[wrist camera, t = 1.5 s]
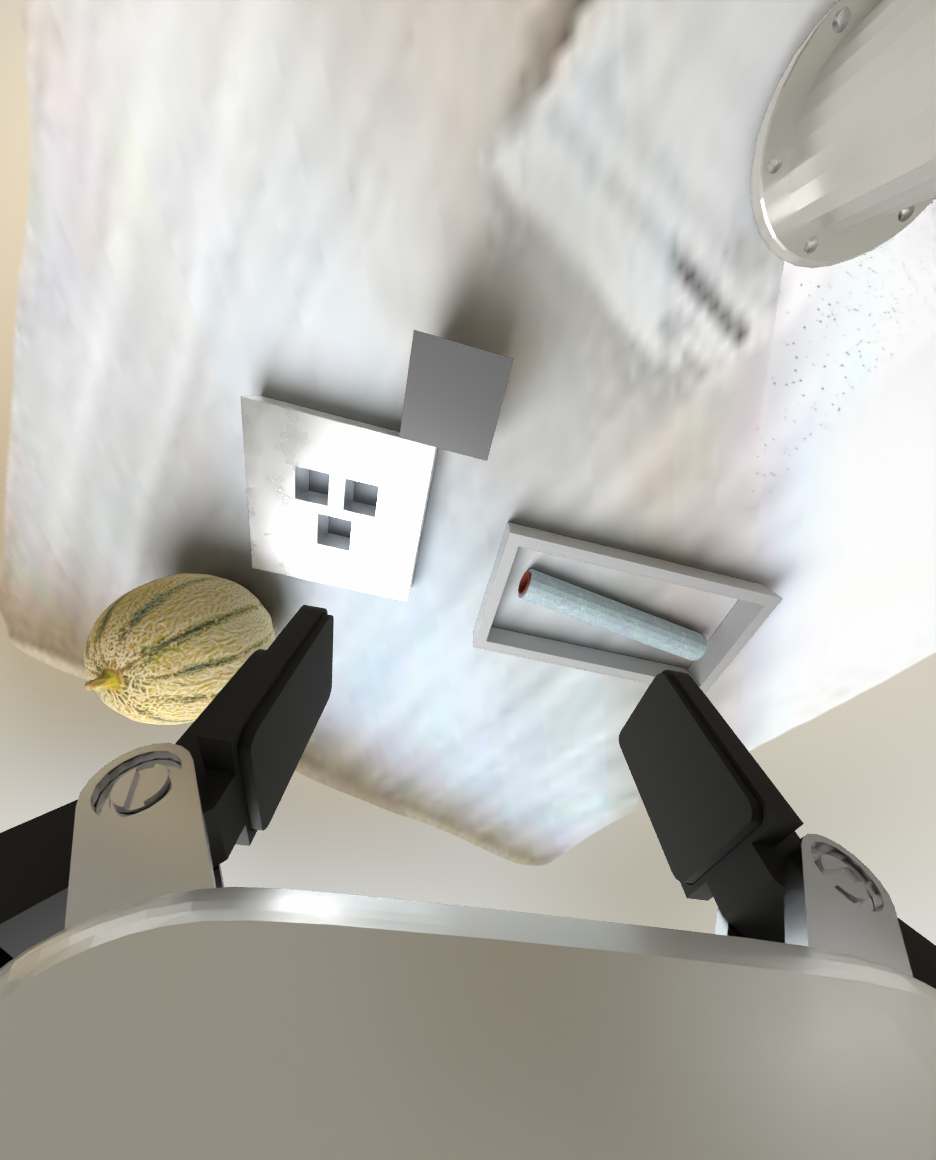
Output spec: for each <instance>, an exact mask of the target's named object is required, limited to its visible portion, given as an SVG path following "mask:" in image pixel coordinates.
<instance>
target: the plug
mask: <svg viewBox="0 0 936 1160" xmlns="http://www.w3.org/2000/svg"><path fill="white" fill-rule="evenodd" d="M512 363H513V358H509V357H506V356H502V355H499V354H495V353H492V352H489V351H485V350H482V349H478V348H475V347H471V346H468V345H464V344H461V343H458V342H454V341H451V340H447V339H444V338H440V337H437V336H434V335H430V334H427V333H423V332H420V331H416V330H414V334H413V341H412V349H411V356H410V363H409V370H408V378H407V385H406V392H405V400H404V407H403V414H402V422H401V429H400V436H399V438H401V439H405V440H409V441H413V442H417V443H421V444H424V445H428V446H432V447H436V448H440V449H444V450H448V451H451V452H455V453H459V454H463V455H467V456H471V457H474V458H478V459H482V460H486V461H487V459H488V455H489V451H490V447H491V443H492V439H493V436H494V432H495V428H496V424H497V420H498V416H499V413H500V409H501V405H502V401H503V397H504V393H505V390H506V386H507V382H508V378H509V374H510V370H511V367H512Z"/></svg>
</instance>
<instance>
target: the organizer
mask: <svg viewBox="0 0 936 1160" xmlns="http://www.w3.org/2000/svg"><path fill="white" fill-rule="evenodd" d="M518 547H522V548H526V549H530V550H534V551H538V552H543V553H547V554H551V555H555V556H559V557H564V558H568V559H572V560H576V561H580V562H584V563H589V564H593V565H597V566H601V567H605V568H610V569H614V570H618V571H622V572H626V573H631V574H635V575H639V576H643V577H647V578H651V579H656V580H660V581H664V582H668V583H672V584H677V585H681V586H685V587H689V588H693V589H697V590H702V591H706V592H710V593H714V594H718V595H723V596H727V597H731V598H735V599H739V600H738V602H737V603H736V604H735V606H734V607H733V608H732V610H731V611H730V612H729V614H728V615H727V616H726V618H725V619H724V620H723V622H722V623H721V624H720V626H719V627H718V628H717V630H716V631H715V633H714V634H713V635H712V637H711V638H710V639H709V641H708V642H707V648H706V652H705V653H704V655H703V656H702V657H701V658H699V659H698V660H694V661H693V662H692V663H691V665H690V666H689V668H688V669H686V668H682V667H677V666H672V665H668V664H663V663H658V662H654V661H649V660H644V659H640V658H635V657H630V656H626V655H621V654H616V653H612V652H607V651H602V650H598V649H593V648H588V647H584V646H579V645H574V644H570V643H565V642H561V641H556V640H551V639H547V638H542V637H537V636H533V635H528V634H523V633H519V632H514V631H509V630H505V629H500V628H495V627H491V625H492V622H493V619H494V617H495V614H496V611H497V608H498V605H499V602H500V599H501V596H502V593H503V590H504V587H505V584H506V582H507V579H508V576H509V573H510V570H511V567H512V564H513V561H514V558H515V555H516V552H517V549H518ZM782 599H783V598H781V597H780V596H778V595H777V594H775V593H774V592H772V591H771V590H770V589H768V588H767V587H765V586H764V585H762V584H759V583H755V582H751V581H747V580H743V579H739V578H735V577H730V576H726V575H722V574H718V573H714V572H710V571H706V570H702V569H698V568H694V567H690V566H686V565H682V564H677V563H673V562H669V561H665V560H661V559H657V558H653V557H649V556H645V555H641V554H637V553H633V552H628V551H624V550H620V549H616V548H612V547H608V546H604V545H600V544H596V543H592V542H588V541H584V540H580V539H575V538H571V537H567V536H563V535H559V534H555V533H551V532H547V531H543V530H539V529H535V528H531V527H526V526H522V525H518V524H514V523H510V522H508V523H507V526H506V529H505V533H504V536H503V539H502V542H501V545H500V548H499V552H498V555H497V558H496V561H495V564H494V568H493V571H492V574H491V577H490V580H489V583H488V587H487V590H486V593H485V596H484V599H483V602H482V606H481V609H480V612H479V615H478V618H477V622H476V625H475V628H474V631H473V647H475V648H480V649H485V650H490V651H495V652H499V653H504V654H509V655H514V656H519V657H523V658H528V659H533V660H538V661H543V662H547V663H552V664H557V665H562V666H567V667H571V668H576V669H581V670H586V671H591V672H595V673H600V674H605V675H610V676H615V677H619V678H624V679H629V680H634V681H639V682H643V683H648V684H651V683H652V681H653V679H654V678H655V676H656V675H657V674H661V672H662V671H664V670H673V671H679V672H684V673H687V674H689V675H690V676H691V677H692V678H693V679H694V681H695V682H696V683H697V685H698V686H699V687H700V689H701V690H702V691H703V693H704V694H706V692H707V691H708V690H709V689H710V687H711V686H712V685H713V684H714V682H715V681H716V680H717V679H718V678H719V676H720V675H721V674H722V673H723V671H724V670H725V669H726V668H727V666H728V665H729V664H730V663H731V662H732V660H733V659H734V658H735V657H736V655H737V654H738V653H739V652H740V651H741V649H742V648H743V647H744V646H745V644H746V643H747V642H748V641H749V639H750V638H751V637H752V636H753V635H754V633H755V632H756V631H757V630H758V628H759V627H760V626H761V625H762V623H763V622H764V621H765V620H766V619H767V617H768V616H769V615H770V614H771V612H772V611H773V610H774V609H775V608H776V606H777V605H778V604H779V603H780V601H781V600H782Z"/></svg>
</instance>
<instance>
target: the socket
mask: <svg viewBox="0 0 936 1160" xmlns="http://www.w3.org/2000/svg"><path fill="white" fill-rule="evenodd" d="M241 409H242V424H243V439H244V453H245V468H246V483H247V498H248V512H249V527H250V542H251V556H252V568H254V569H259V570H264V571H268V572H273V573H278V574H282V575H287V576H291V577H296V578H301V579H305V580H310V581H314V582H319V583H324V584H328V585H333V586H338V587H342V588H347V589H351V590H356V591H361V592H365V593H370V594H374V595H379V596H384V597H388V598H393V599H397V600H402V601H407V598H408V596H409V593H410V590H411V586H412V581H413V576H414V570H415V565H416V560H417V555H418V549H419V544H420V539H421V534H422V528H423V523H424V518H425V512H426V507H427V502H428V497H429V491H430V486H431V481H432V476H433V470H434V465H435V460H436V455H437V449H438V448H436V447H432V446H428V445H424V444H421V443H417V442H413V441H409V440H405V439H401V438H399V436H400V432H398V431H394V430H390V429H386V428H382V427H378V426H375V425H371V424H367V423H363V422H359V421H356V420H352V419H348V418H344V417H340V416H337V415H333V414H329V413H325V412H321V411H317V410H314V409H310V408H306V407H302V406H298V405H295V404H291V403H287V402H283V401H279V400H276V399H272V398H268V397H264V396H241ZM309 469H310V470H314V471H318V472H322V473H326V474H329V493H328V495H327V494H322V493H318V492H314V491H310V490H309ZM355 481H359V482H363V483H367V484H371V485H375V486H379V489H378V497H377V506H372V505H368V504H364V503H360V502H356V501H353V497H354V485H355ZM329 516H332V517H336V518H340V519H344V520H349V521H352V527H351V538H349V537H345V536H340V535H336V534H332V533H328V529H329Z"/></svg>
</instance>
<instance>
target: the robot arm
mask: <svg viewBox="0 0 936 1160" xmlns="http://www.w3.org/2000/svg"><path fill="white" fill-rule="evenodd" d="M767 168H768V169H767ZM935 198H936V0H838V1H837V3H836V4H835V5H834V6H833V7H832V8H831V9H830V10H829V11H828V13H827V14H826V15H825V16H824V17H823V18H822V19H821V20H820V21H819V23H818V24H817V25H816V26H815V27H814V29H813V30H812V31H811V33H810V34H809V36H808V37H807V38H806V40H805V41H804V42H803V44H802V45H801V46H800V48H799V49H798V51H797V52H796V53H795V55H794V57H793V58H792V60H791V62H790V64H789V65H788V67H787V69H786V71H785V72H784V74H783V76H782V78H781V79H780V81H779V83H778V85H777V87H776V90H775V92H774V94H773V97H772V99H771V101H770V104H769V106H768V108H767V111H766V113H765V116H764V119H763V122H762V126H761V129H760V132H759V136H758V139H757V142H756V147H755V153H754V159H753V165H752V172H751V200H752V208H753V215H754V219H755V222H756V225H757V228H758V230H759V233H760V236H761V237H762V239H763V240H764V242H765V243H766V245H767V246H768V248H769V249H770V250H771V251H772V252H773V253H774V254H776V255H777V256H778V257H779V258H780V259H782V260H784V261H786V262H788V263H791V264H793V265H795V266H801V267H809V268H816V267H824V266H831V265H834V264H837V263H841V262H844V261H847V260H850V259H853V258H855V257H857V256H860V255H862V254H864V253H867V252H869V251H871V250H873V249H875V248H876V247H878V246H879V245H881V244H883V243H884V242H886V241H887V240H889V239H891V238H892V237H894V236H895V235H896V234H897V233H899V232H900V231H901V230H902V229H904V228H905V227H906V226H908V225H909V224H910V223H911V222H912V221H913V220H914V219H915V218H916V217H917V216H918V215H919V214H920V213H921V212H922V211H923V210H924V209H925V208H926V207H927V206H928V205H929V204H930V203H931V202H932V201H933V200H934V199H935ZM332 657H333V616H332V615H327V610H326V609H324V608H318V607H313V606H307V605H304V606H302V607H301V608H300V609H299V611H298V612H297V613H296V614H295V616H294V617H293V618H292V619H291V620H290V622H289V623H288V624H287V625H286V627H285V628H284V629H283V630H282V632H281V633H280V634H279V635H278V637H277V638H276V639H275V640H274V642H273V643H272V644H271V645H270V646H269V648H268V649H267V650H264V649H258V650H256V651H255V652H254V653H253V654H251V656H250V657H249V658H248V659H247V660H246V661H245V663H244V664H243V665H242V666H241V667H240V668H239V670H238V671H237V672H236V673H235V674H234V675H233V677H232V678H231V679H230V680H229V681H228V683H227V684H226V685H225V686H224V687H223V688H222V690H221V691H220V692H219V693H218V694H217V695H216V697H215V698H214V699H213V700H212V701H211V702H210V704H209V705H208V706H207V707H206V708H205V709H204V711H203V712H202V713H201V714H200V715H199V717H198V718H197V719H196V720H195V721H194V722H193V724H192V725H191V726H190V727H189V728H188V730H187V731H186V732H185V733H184V734H183V735H182V736H181V738H180V739H179V740H178V741H177V742H176V744H171V743H161V744H152V745H148V746H144V747H140V748H137V749H135V750H132V751H130V752H128V753H126V754H123V755H121V756H119V757H118V758H116V759H115V760H113V761H111V762H110V763H108V764H107V765H105V766H104V767H103V768H102V769H101V770H99V772H97V773H96V774H95V775H94V776H93V777H92V778H91V779H90V780H89V781H88V783H87V784H86V786H85V787H84V788H83V790H82V791H81V792H80V795H79V799H78V800H76V801H74V802H71V803H69V804H66V805H64V806H62V807H60V808H57V809H55V810H53V811H50V812H48V813H46V814H43V815H41V816H39V817H36V818H34V819H32V820H30V821H27V822H25V823H23V824H21V825H18V826H16V827H13V828H11V829H9V830H6V831H4V832H2V833H0V1160H936V946H935V945H934V944H933V943H931V942H930V941H929V940H927V939H926V938H925V937H923V936H922V935H921V934H919V933H918V932H916V931H915V930H914V929H912V928H911V927H910V926H908V925H907V924H906V923H904V922H903V921H902V920H900V919H899V918H897V915H896V911H895V907H894V905H893V903H892V901H891V899H890V896H889V894H888V893H887V891H886V890H885V888H884V887H883V885H882V884H881V882H880V881H879V880H878V879H877V878H876V877H875V876H874V874H873V873H872V872H871V871H870V870H869V869H868V868H867V867H866V866H865V865H864V864H863V863H862V862H861V861H860V860H859V859H858V858H856V857H855V856H854V855H853V854H851V853H850V852H849V851H847V850H846V849H845V848H843V847H842V846H841V845H839V844H837V843H835V842H834V841H832V840H830V839H828V838H826V837H823V836H820V835H817V834H807V835H806V836H804V837H802V838H801V839H800V838H799V836H798V835H797V834H796V832H795V830H796V829H797V828H799V827H800V826H801V825H802V824H803V822H802V821H801V820H800V818H799V817H798V816H797V815H796V813H795V812H794V811H793V809H792V808H791V807H790V805H789V804H788V803H787V801H786V800H785V799H784V797H783V796H782V795H781V793H780V792H779V791H778V789H777V788H776V787H775V786H774V784H773V783H772V782H771V780H770V779H769V778H768V777H767V775H766V774H765V772H764V771H763V770H762V769H761V767H760V766H759V765H758V763H757V762H756V761H755V759H754V758H753V757H752V755H751V754H750V753H749V752H748V750H747V749H746V748H745V746H744V745H743V744H742V742H741V741H740V740H739V738H738V737H737V736H736V734H735V733H734V732H733V731H732V729H731V728H730V727H729V725H728V724H727V723H726V721H725V720H724V719H723V717H722V716H721V715H720V714H719V712H718V711H717V710H716V708H715V707H714V706H713V704H712V703H711V702H710V700H709V699H708V698H707V697H706V695H705V694H704V693H703V691H702V690H701V689H700V687H699V686H698V685H697V683H696V682H695V681H694V679H693V678H692V677H691V676H690V675H689V674H687V673H684V672H679V671H673V670H664V671H662V672H661V674H657V675H656V676H655V678H654V679H653V681H652V683H651V684H650V686H649V687H648V689H647V691H646V692H645V694H644V695H643V697H642V698H641V700H640V702H639V703H638V705H637V706H636V708H635V710H634V711H633V713H632V714H631V716H630V718H629V719H628V721H627V722H626V724H625V726H624V727H623V729H622V730H621V732H620V735H619V744H620V747H621V749H622V752H623V754H624V757H625V759H626V762H627V764H628V766H629V769H630V771H631V774H632V776H633V779H634V781H635V783H636V786H637V788H638V791H639V793H640V796H641V798H642V800H643V803H644V805H645V808H646V810H647V813H648V815H649V817H650V820H651V822H652V825H653V827H654V830H655V832H656V834H657V837H658V839H659V842H660V844H661V846H662V849H663V851H664V854H665V856H666V859H667V861H668V863H669V866H670V868H671V871H672V872H673V875H674V876H675V878H676V879H677V880H679V881H680V883H681V885H682V887H683V889H684V892H685V895H686V897H687V898H691V899H699V900H709V899H711V898H712V897H714V899H715V901H716V903H717V905H718V910H717V918H716V925H715V933H714V934H709V933H700V932H691V931H683V930H674V929H666V928H657V927H649V926H639V925H631V924H622V923H614V922H605V921H596V920H587V919H577V918H569V917H560V916H551V915H542V914H532V913H524V912H515V911H506V910H496V909H487V908H478V907H468V906H458V905H448V904H440V903H430V902H421V901H411V900H402V899H392V898H383V897H374V896H364V895H351V894H340V893H327V892H316V891H304V890H293V889H281V888H245V887H225V888H224V883H223V877H222V871H221V866H220V864H221V863H222V862H224V861H225V860H227V859H228V857H229V855H230V853H231V851H232V849H233V847H234V845H235V844H239V845H249V846H250V844H251V842H252V840H253V838H254V836H255V834H256V832H257V830H265V829H266V828H267V826H268V825H269V823H270V821H271V819H272V817H273V815H274V813H275V810H276V808H277V806H278V804H279V802H280V800H281V798H282V796H283V794H284V791H285V790H286V787H287V785H288V783H289V781H290V779H291V777H292V775H293V773H294V771H295V769H296V766H297V764H298V762H299V760H300V758H301V756H302V754H303V752H304V750H305V748H306V745H307V743H308V741H309V739H310V737H311V735H312V733H313V731H314V729H315V727H316V724H317V722H318V720H319V718H320V716H321V714H322V712H323V710H324V708H325V706H326V703H327V701H328V699H329V696H330V693H331V688H332Z"/></svg>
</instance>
